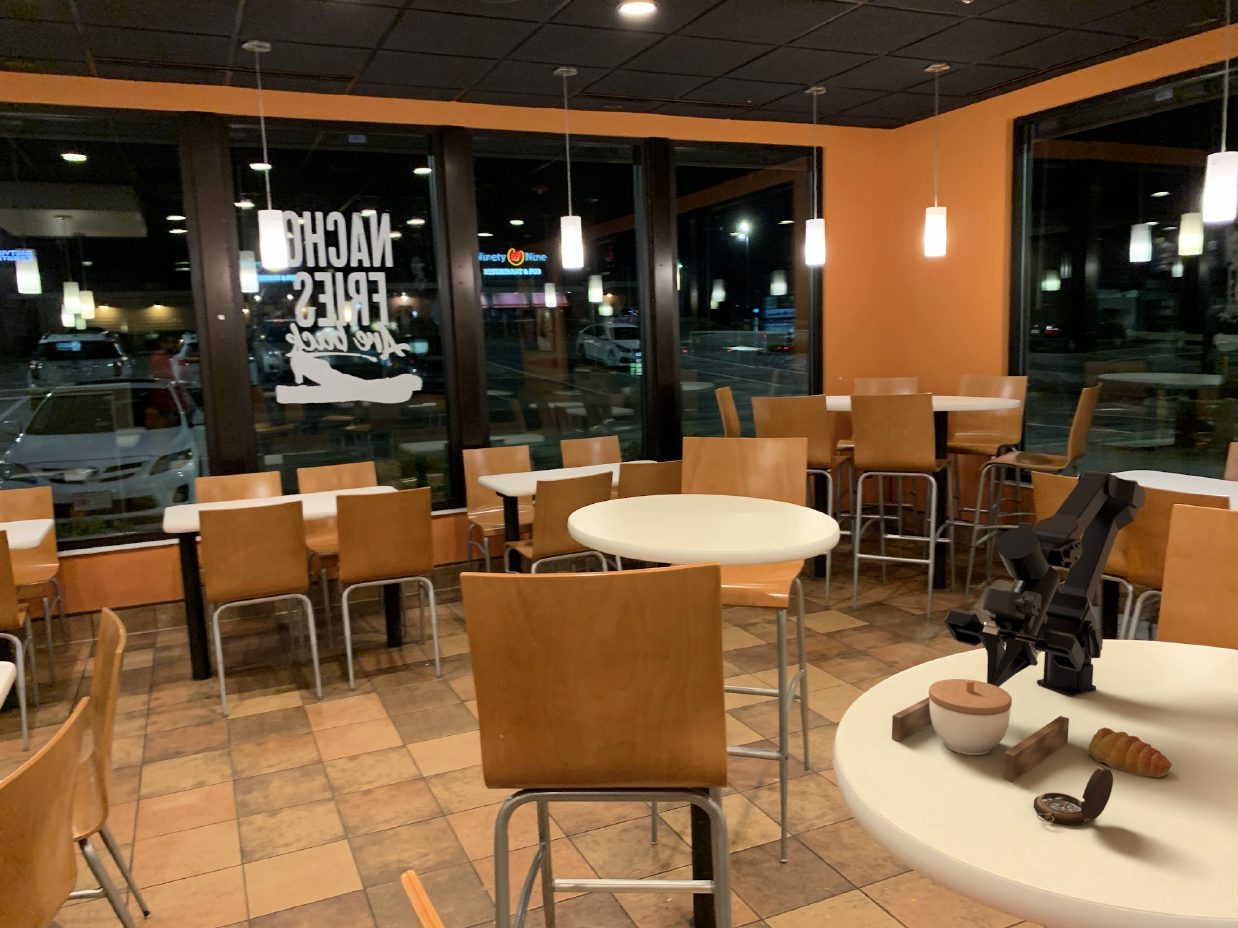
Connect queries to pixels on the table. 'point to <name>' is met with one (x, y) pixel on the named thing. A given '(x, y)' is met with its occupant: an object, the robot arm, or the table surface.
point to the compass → (1077, 801)
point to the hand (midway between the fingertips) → (990, 687)
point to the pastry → (1128, 754)
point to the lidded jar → (969, 714)
